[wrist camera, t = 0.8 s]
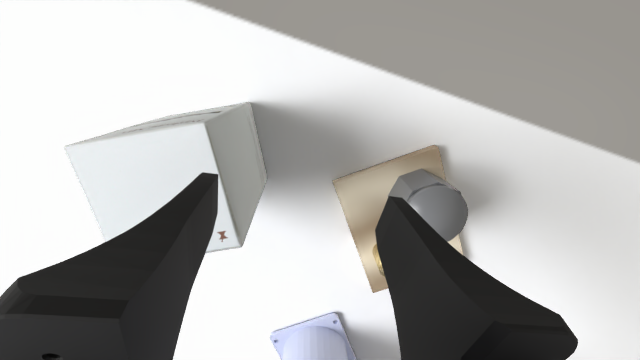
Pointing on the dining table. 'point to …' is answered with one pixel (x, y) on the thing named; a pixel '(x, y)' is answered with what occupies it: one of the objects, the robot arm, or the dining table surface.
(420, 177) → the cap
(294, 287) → the dining table surface
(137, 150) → the supplement box
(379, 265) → the stud
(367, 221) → the board
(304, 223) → the dining table surface
